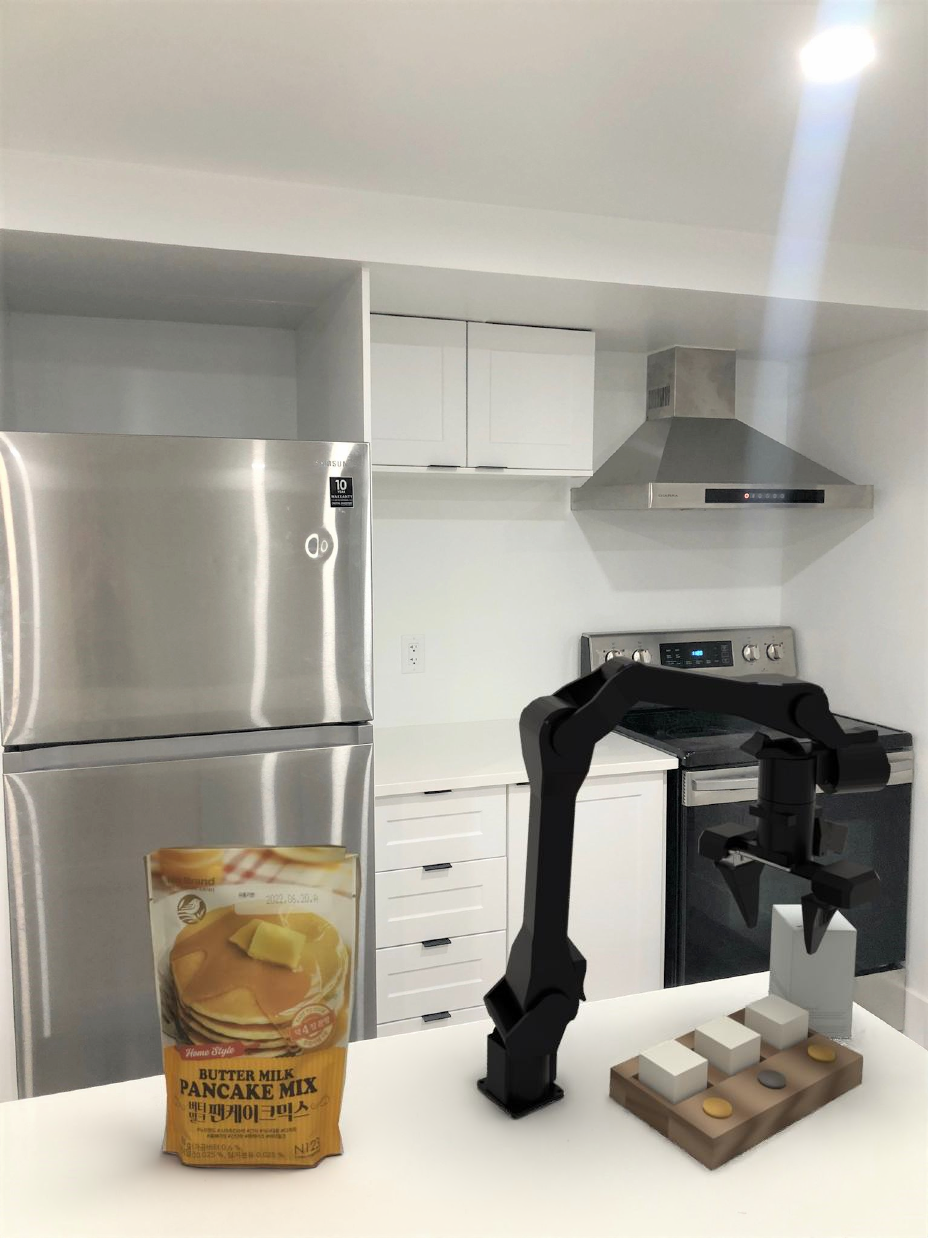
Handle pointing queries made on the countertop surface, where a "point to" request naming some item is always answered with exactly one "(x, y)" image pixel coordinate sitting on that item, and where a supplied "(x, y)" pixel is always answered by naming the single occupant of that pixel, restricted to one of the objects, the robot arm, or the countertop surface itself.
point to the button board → (743, 1096)
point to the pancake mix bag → (254, 998)
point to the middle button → (727, 1045)
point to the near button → (673, 1071)
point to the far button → (777, 1021)
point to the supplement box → (814, 970)
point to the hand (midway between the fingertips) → (780, 940)
